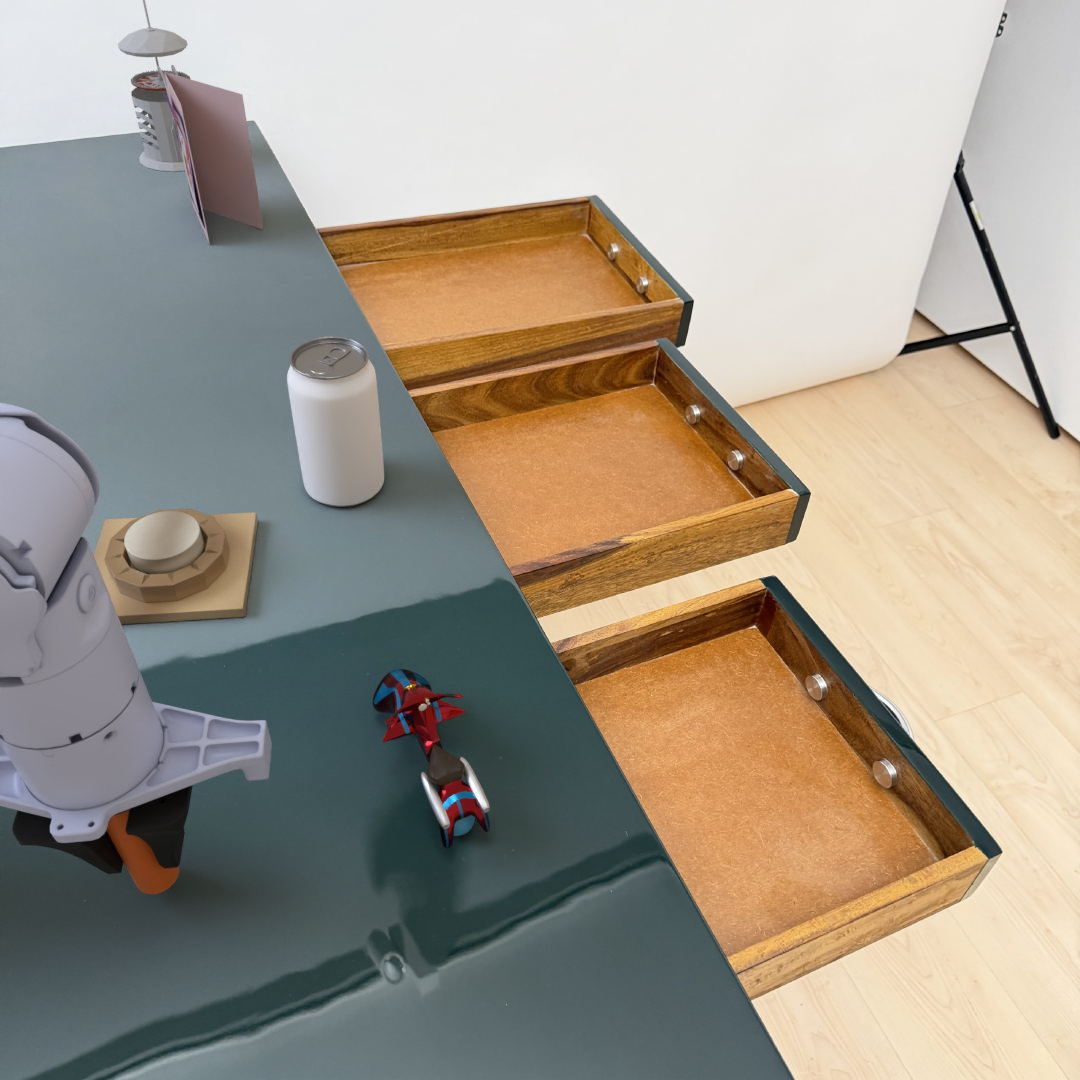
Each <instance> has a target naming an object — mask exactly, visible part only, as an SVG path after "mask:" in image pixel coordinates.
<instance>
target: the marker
mask: <svg viewBox="0 0 1080 1080" xmlns="http://www.w3.org/2000/svg"><path fill="white" fill-rule="evenodd" d="M129 811H130V809H128V810H125V811H122V812H120V813H117V814H115V815H113V816H112V817H111V818H110V820H109V822H108V827H107V829H106V831H107V833H108V835H109V837H110V838H111V840H112V842H113V844H114V846H115V848H116V849H117V851H118V853H119V855H120V857H121V859H122V860H123V865H124V867H126V869H127V872H128V873H129V875H130V877H131V879H132V880H133V882H134V884H135V886H136V888H137V889H138V890H139V891H140V892H141V893H143V894H146V895H159V894H161V893H164V892H165V891H167V890H169V889H170V888H171V887H172V885H174V884H175V883H176V881H177V879H178V878H179V874H180V865H179V866H178V867H177V868H167V869H165V868H163V867H162V866H160V865H159V863H158V861H157V859H156V857H155V855H154V853H153V851H152V849H151V847H150V846H149V845H148V844H147V843H146V842H145V841H144V840H142V839H141V838H139V837H137V836H134V835H127V833H126V825H127V820H128V815H129Z"/></svg>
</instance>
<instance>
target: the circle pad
mask: <svg viewBox="0 0 1080 1080" xmlns="http://www.w3.org/2000/svg"><path fill="white" fill-rule="evenodd" d="M147 515H148V514H147ZM124 544H125V548H126V550H127V553H128V556H129V559H130V561H131V563H132V565H133V566H134V567H135V568H136V569H138V570H139V571H141V572H144V573H147V574H165V573H172V572H175V571H177V570H180V569H182V568H184V567H187V566H189V565H192V564H193V563H194V562H195V561H196V560H197V559H198V558H199V557H200V555H201V554H202V552H203V548H204V541H203V537H202V533H201V530H200V526H199V524H198V522H197V521H196V520H195V519H194V518H193V517H192V516H190V515H188V514H186V513H183V512H178V511H163V512H158V513H154V514H151V515H148V516H146V517H143V518H142V519H140V520H138V521H137V522H135V523H134V524H133V525H132V526H131V527H130V528H129V530H128V531H127V533H126V535H125V539H124Z"/></svg>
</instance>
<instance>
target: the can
mask: <svg viewBox="0 0 1080 1080" xmlns="http://www.w3.org/2000/svg"><path fill="white" fill-rule="evenodd" d="M289 355H290V356H289V364H290V366H289V368H288V371H287V375H286V384H287V391H288V398H289V403H290V411H291V417H292V423H293V428H294V434H295V440H296V441H295V442H296V447H297V452H298V458H299V465H300V471H301V476H302V482H303V486H304V489H305V492H306V493H307V494H308V496H310V498H312V499H313V500H315V501H317V502H318V503H320V504H323V505H326V506H330V507H334V508H335V507H336V508H349V507H354V506H358V505H362V504H364V503H366V502H368V501H370V500H371V499H372V498H374V497H375V496H376V495H377V494H378V493H379V492H380V490H381V489H382V488H383V485H384V484H385V483H384V482H385V467H384V452H383V440H382V427H381V416H380V415H381V414H380V406H379V405H380V403H379V392H378V391H379V390H378V381H377V374H376V373H377V372H376V370H375V367H374V365H373V364H372V361H371V360H370V359H369V357H370V356H369V351H368V350H367V347H365V346H364V345H363V344H362V343H360V342H359V341H358V340H354V339H352V338H348V337H344V336H343V337H342V336H320V337H316V338H312V339H309V340H307V341H303V342H302V343H300V344H299V345H297V346H296V347H295V348H294V349H293V350H292V351H291V352H290V354H289Z"/></svg>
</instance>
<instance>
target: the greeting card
mask: <svg viewBox="0 0 1080 1080" xmlns="http://www.w3.org/2000/svg"><path fill="white" fill-rule="evenodd" d="M164 73H165V78H166V82H167V87H168V92H169V97H170V101H171V104H170V102H169V101H168V99H167V98H166V96H165V95H164V96H165V98H166V100H167V102H168V104H169V106H170V108H171V111H172V113H173V117H174V120H175V125H176V130H177V134H178V139H179V144H180V149H181V153H182V158H183V163H184V167H185V171H184V172H185V176H186V182H187V186H188V192H189V194H190V199H191V205H192V207H193V210H194V212H195V214H196V218H197V219H198V221H199V224H200V226H201V228H202V231H203V233H204V236H205V238H206V240H207V242H208V245H209V246H211V243H210V239H209V233H208V229H207V224H206V223H207V222H206V219H205V213H204V210H205V211H208V212H211V213H213V214H216V215H219V216H222V217H225V218H228V219H231V220H233V221H236V222H239V223H242V224H245V225H248V226H250V227H254V228H256V229H260V230H262V231H264V229H265V227H264V222H263V216H262V209H261V203H260V198H259V191H258V184H257V178H256V177H257V176H256V171H255V164H254V159H253V152H252V147H251V140H250V135H249V127H248V121H247V116H246V109H245V101H244V97H243V94H242V93H239V92H236V91H232V90H229V89H225V88H222V87H219V86H215V85H212V84H209V83H206V82H205V83H204V82H201V81H197V80H194V79H192V78H190V79H187V78H184V77H180V76H177V75H173V74H170V73H167V72H164ZM162 93H163V92H162ZM163 94H164V93H163Z"/></svg>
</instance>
